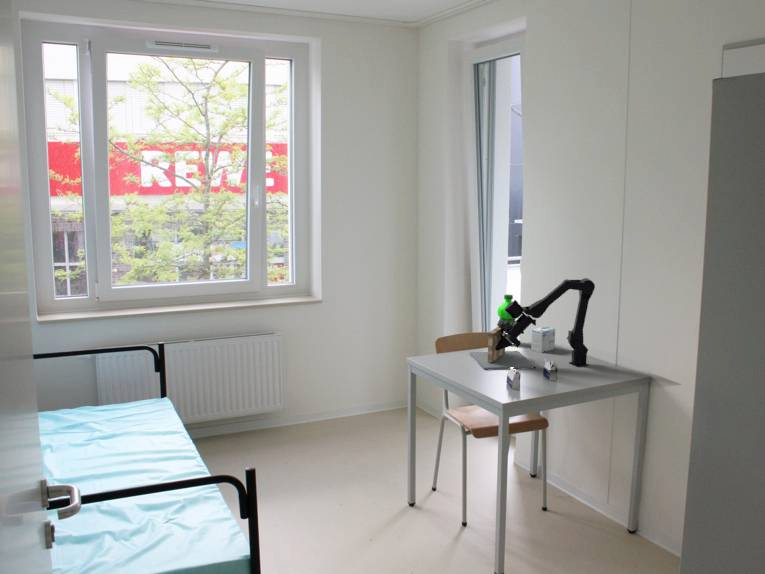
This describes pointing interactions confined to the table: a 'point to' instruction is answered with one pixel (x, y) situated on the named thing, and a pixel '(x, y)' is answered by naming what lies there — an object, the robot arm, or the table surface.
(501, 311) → the plastic bottle
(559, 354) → the table surface
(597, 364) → the table surface
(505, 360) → the base
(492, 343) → the gate panel
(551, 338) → the light bulb box
